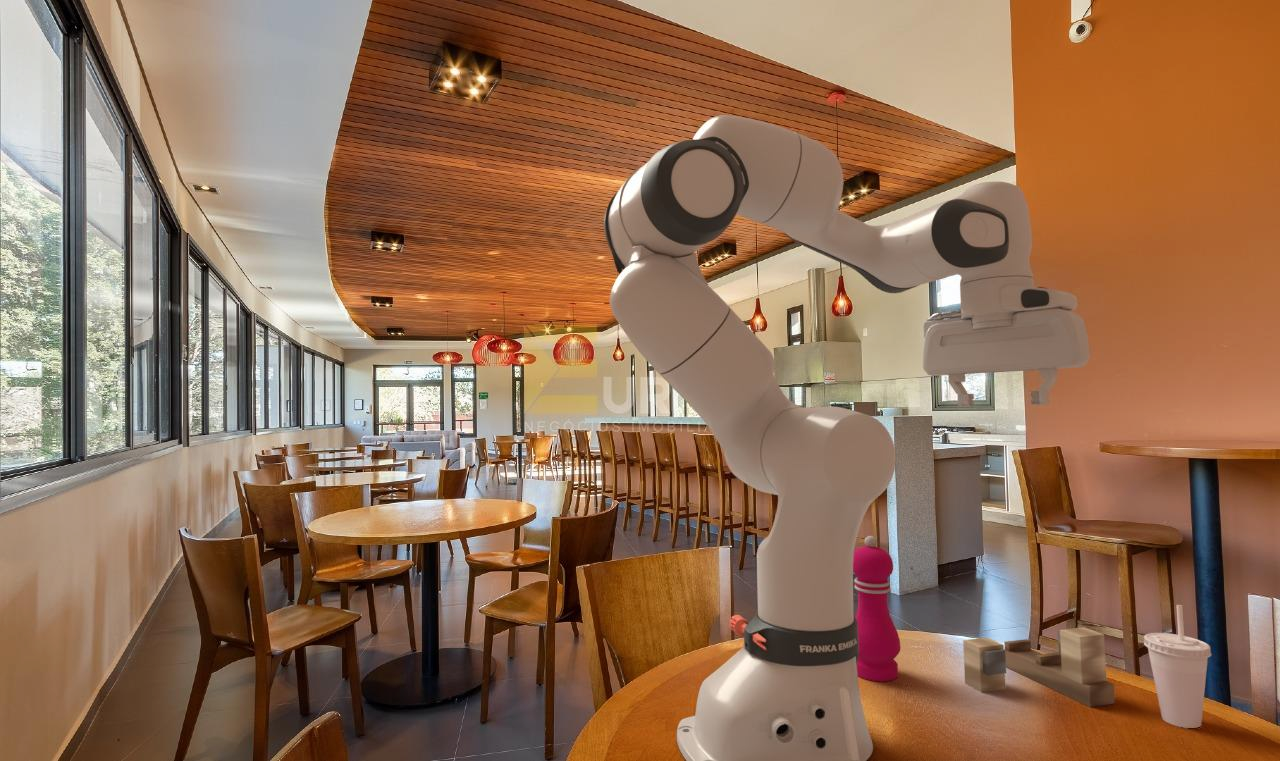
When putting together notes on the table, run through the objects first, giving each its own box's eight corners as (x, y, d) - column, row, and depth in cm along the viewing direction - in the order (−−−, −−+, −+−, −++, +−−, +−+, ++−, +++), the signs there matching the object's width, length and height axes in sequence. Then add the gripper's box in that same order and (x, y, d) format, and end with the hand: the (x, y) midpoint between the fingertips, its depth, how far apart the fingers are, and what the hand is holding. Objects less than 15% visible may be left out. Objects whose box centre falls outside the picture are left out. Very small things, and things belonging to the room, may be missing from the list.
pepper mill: (893, 687, 89) (888, 542, 90) (842, 675, 94) (838, 537, 95) (907, 670, 95) (902, 534, 96) (858, 660, 99) (854, 530, 101)
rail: (1090, 707, 83) (1086, 639, 83) (1004, 666, 96) (1001, 608, 97) (1114, 703, 84) (1111, 636, 84) (1026, 663, 97) (1023, 606, 98)
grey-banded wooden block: (985, 694, 87) (983, 649, 87) (965, 683, 90) (963, 640, 91) (1010, 691, 88) (1008, 646, 88) (988, 680, 91) (986, 637, 92)
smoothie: (1229, 736, 75) (1222, 614, 76) (1167, 731, 76) (1160, 611, 77) (1194, 711, 81) (1187, 599, 82) (1136, 707, 82) (1130, 597, 83)
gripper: (912, 312, 94) (915, 407, 93) (1072, 289, 77) (1078, 403, 77) (934, 316, 97) (937, 407, 97) (1091, 295, 81) (1097, 404, 81)
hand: (1001, 405), depth 86 cm, fingers open, 8 cm apart
